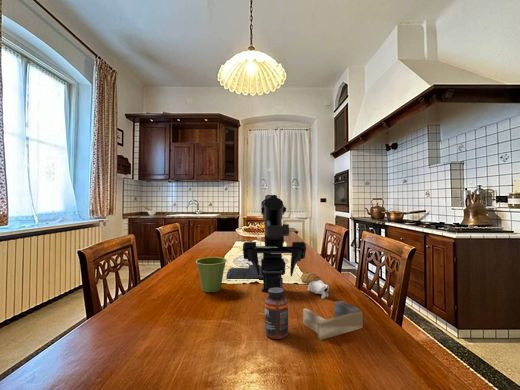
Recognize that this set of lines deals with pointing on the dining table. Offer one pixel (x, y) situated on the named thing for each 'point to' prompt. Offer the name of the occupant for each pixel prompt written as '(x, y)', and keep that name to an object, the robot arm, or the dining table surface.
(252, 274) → the dark slate chunk
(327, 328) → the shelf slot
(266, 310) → the supplement bottle
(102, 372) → the dining table surface
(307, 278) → the pastry
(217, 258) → the plant pot
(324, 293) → the white skull
